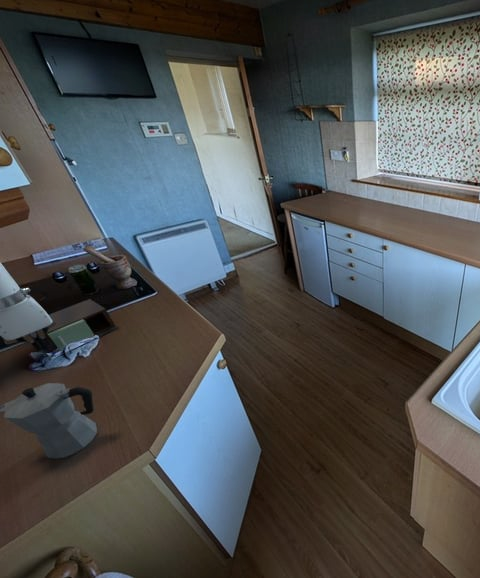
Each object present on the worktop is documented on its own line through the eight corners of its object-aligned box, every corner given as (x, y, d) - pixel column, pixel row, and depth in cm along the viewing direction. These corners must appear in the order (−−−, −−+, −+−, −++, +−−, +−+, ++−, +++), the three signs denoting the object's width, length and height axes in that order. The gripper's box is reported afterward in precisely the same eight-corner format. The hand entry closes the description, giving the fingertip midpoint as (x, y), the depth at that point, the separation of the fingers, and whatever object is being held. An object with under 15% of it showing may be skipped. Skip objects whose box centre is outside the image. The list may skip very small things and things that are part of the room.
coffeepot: (25, 469, 64) (-35, 419, 55) (49, 432, 72) (-1, 382, 62) (111, 445, 69) (69, 395, 60) (125, 412, 76) (89, 363, 67)
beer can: (100, 287, 129) (86, 263, 122) (98, 293, 125) (83, 268, 119) (84, 291, 126) (69, 266, 120) (82, 296, 122) (66, 271, 116)
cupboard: (52, 359, 92) (36, 340, 88) (35, 344, 98) (20, 325, 94) (119, 328, 105) (108, 310, 101) (100, 316, 111) (89, 298, 107)
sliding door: (62, 352, 93) (49, 335, 90) (59, 350, 94) (46, 334, 90) (95, 336, 100) (85, 320, 96) (93, 335, 101) (82, 319, 97)
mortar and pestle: (106, 295, 124) (81, 251, 113) (105, 286, 129) (81, 245, 119) (139, 286, 130) (118, 244, 120) (137, 278, 136) (117, 238, 125)
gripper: (36, 283, 87) (70, 331, 97) (-42, 309, 76) (5, 359, 86) (46, 290, 84) (80, 338, 94) (-34, 317, 73) (14, 369, 83)
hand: (44, 348), depth 90 cm, fingers closed
